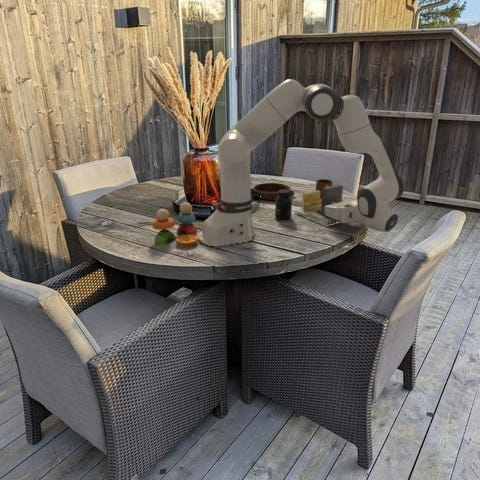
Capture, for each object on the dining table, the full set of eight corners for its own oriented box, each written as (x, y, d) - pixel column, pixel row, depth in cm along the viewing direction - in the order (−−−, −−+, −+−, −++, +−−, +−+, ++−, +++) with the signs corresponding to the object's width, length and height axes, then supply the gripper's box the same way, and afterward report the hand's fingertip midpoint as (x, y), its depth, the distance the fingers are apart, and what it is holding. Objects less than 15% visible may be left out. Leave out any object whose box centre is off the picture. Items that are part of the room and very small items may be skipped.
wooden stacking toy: (188, 251, 156) (186, 217, 151) (149, 242, 163) (146, 210, 158) (214, 234, 170) (213, 203, 166) (178, 227, 178) (176, 197, 173)
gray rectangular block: (324, 217, 181) (326, 189, 176) (314, 213, 186) (315, 185, 182) (340, 213, 186) (342, 185, 181) (329, 209, 191) (331, 182, 186)
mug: (335, 205, 201) (336, 185, 197) (318, 206, 201) (320, 186, 197) (329, 198, 212) (330, 178, 209) (313, 198, 212) (314, 179, 208)
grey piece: (327, 226, 176) (328, 206, 173) (294, 213, 192) (295, 194, 188) (355, 219, 184) (357, 199, 181) (322, 206, 200) (323, 188, 196)
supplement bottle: (272, 219, 185) (272, 192, 180) (278, 214, 190) (279, 187, 186) (287, 222, 182) (288, 194, 177) (293, 217, 187) (294, 189, 183)
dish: (247, 192, 223) (247, 183, 221) (290, 191, 224) (291, 181, 222) (250, 203, 207) (250, 193, 205) (297, 201, 208) (297, 191, 206)
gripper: (378, 199, 174) (352, 191, 185) (341, 208, 164) (315, 199, 175) (376, 214, 177) (350, 205, 188) (339, 224, 167) (314, 214, 177)
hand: (333, 202), depth 181 cm, fingers closed, pressing on gray rectangular block
